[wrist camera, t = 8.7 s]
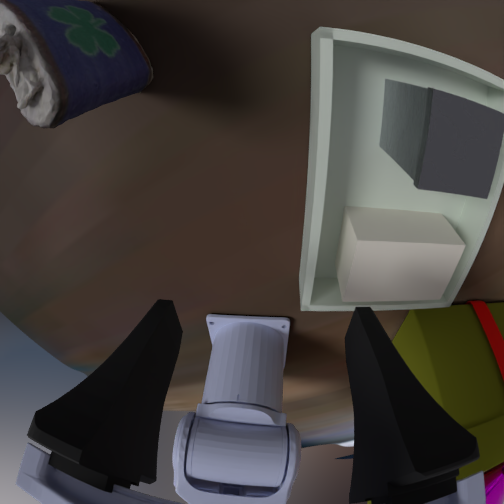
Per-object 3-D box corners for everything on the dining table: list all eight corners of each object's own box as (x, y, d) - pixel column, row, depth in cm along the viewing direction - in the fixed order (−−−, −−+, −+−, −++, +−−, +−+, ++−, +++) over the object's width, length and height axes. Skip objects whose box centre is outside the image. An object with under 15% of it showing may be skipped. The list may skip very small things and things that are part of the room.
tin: (437, 156, 15) (487, 199, 10) (377, 147, 16) (417, 189, 11) (446, 92, 12) (506, 114, 8) (383, 76, 13) (433, 88, 8)
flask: (68, 20, 11) (-55, 37, 3) (95, -9, 10) (-28, -17, 2) (133, 101, 16) (14, 161, 7) (166, 72, 14) (47, 103, 6)
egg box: (423, 265, 21) (440, 299, 18) (334, 263, 21) (342, 301, 18) (441, 213, 18) (465, 245, 15) (344, 205, 18) (357, 240, 15)
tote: (435, 278, 22) (449, 306, 19) (299, 277, 23) (300, 310, 21) (489, 79, 11) (521, 89, 8) (310, 34, 12) (320, 26, 9)
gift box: (355, 393, 37) (361, 546, 17) (377, 303, 25) (409, 575, 5) (468, 368, 33) (495, 500, 14) (524, 275, 21) (594, 458, 1)
